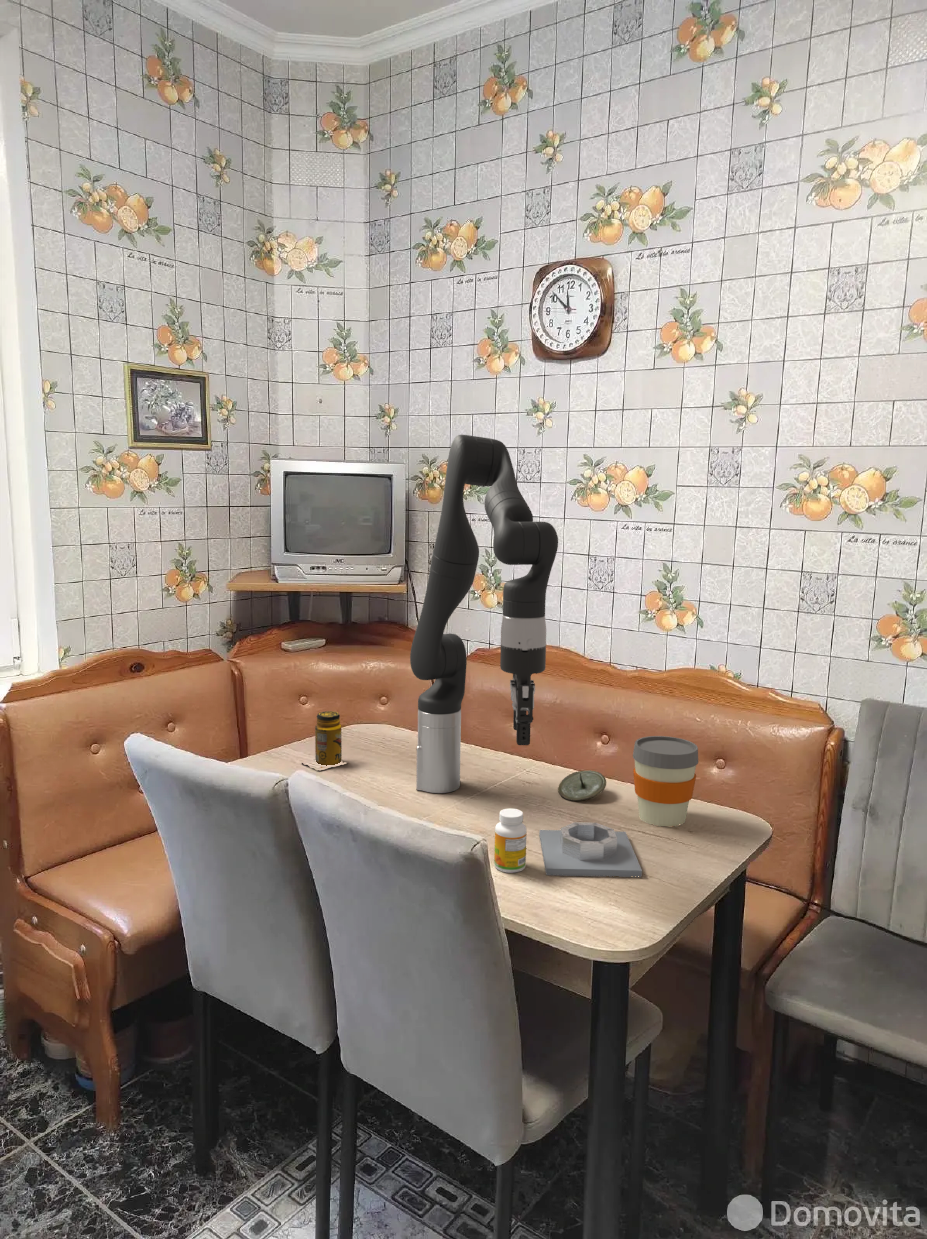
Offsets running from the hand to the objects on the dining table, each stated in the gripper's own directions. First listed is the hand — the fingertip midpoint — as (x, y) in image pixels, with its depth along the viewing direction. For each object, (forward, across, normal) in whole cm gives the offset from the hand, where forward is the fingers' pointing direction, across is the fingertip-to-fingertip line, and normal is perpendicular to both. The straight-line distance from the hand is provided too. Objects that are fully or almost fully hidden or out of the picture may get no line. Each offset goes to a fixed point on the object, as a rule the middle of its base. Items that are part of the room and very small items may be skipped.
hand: (521, 737), depth 142 cm
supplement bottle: (+23, +1, -2) cm, 23 cm away
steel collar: (+22, -4, +13) cm, 25 cm away
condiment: (+22, -51, -42) cm, 69 cm away
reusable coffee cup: (+23, -22, +30) cm, 43 cm away
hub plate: (+23, -4, +12) cm, 26 cm away
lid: (+23, -34, +16) cm, 44 cm away
